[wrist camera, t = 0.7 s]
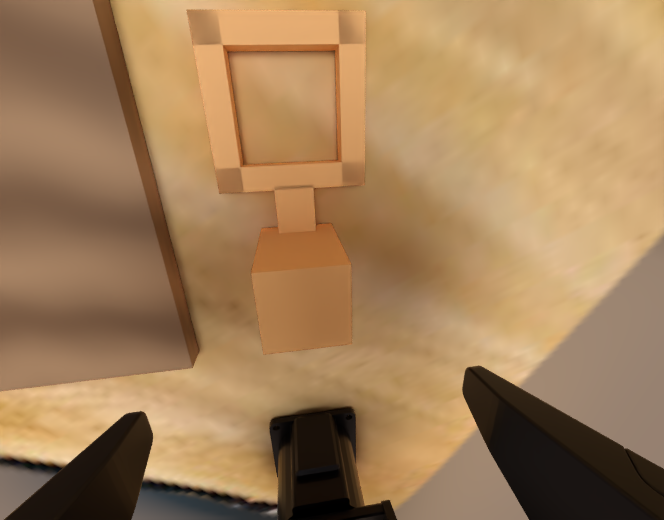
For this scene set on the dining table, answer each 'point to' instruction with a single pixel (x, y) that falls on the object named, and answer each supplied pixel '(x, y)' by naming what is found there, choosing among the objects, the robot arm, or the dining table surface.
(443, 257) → the dining table surface
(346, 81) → the square frame with handle
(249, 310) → the dining table surface
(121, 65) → the board
